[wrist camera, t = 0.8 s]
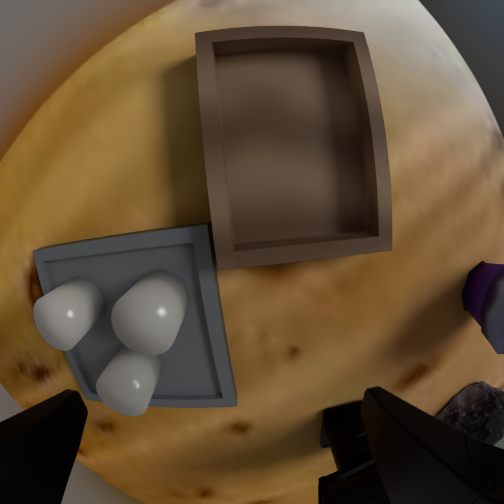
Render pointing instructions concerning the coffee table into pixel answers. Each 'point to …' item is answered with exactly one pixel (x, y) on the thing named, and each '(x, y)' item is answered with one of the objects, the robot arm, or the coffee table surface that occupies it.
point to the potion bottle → (487, 301)
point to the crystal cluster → (477, 412)
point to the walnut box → (292, 145)
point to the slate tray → (121, 280)
